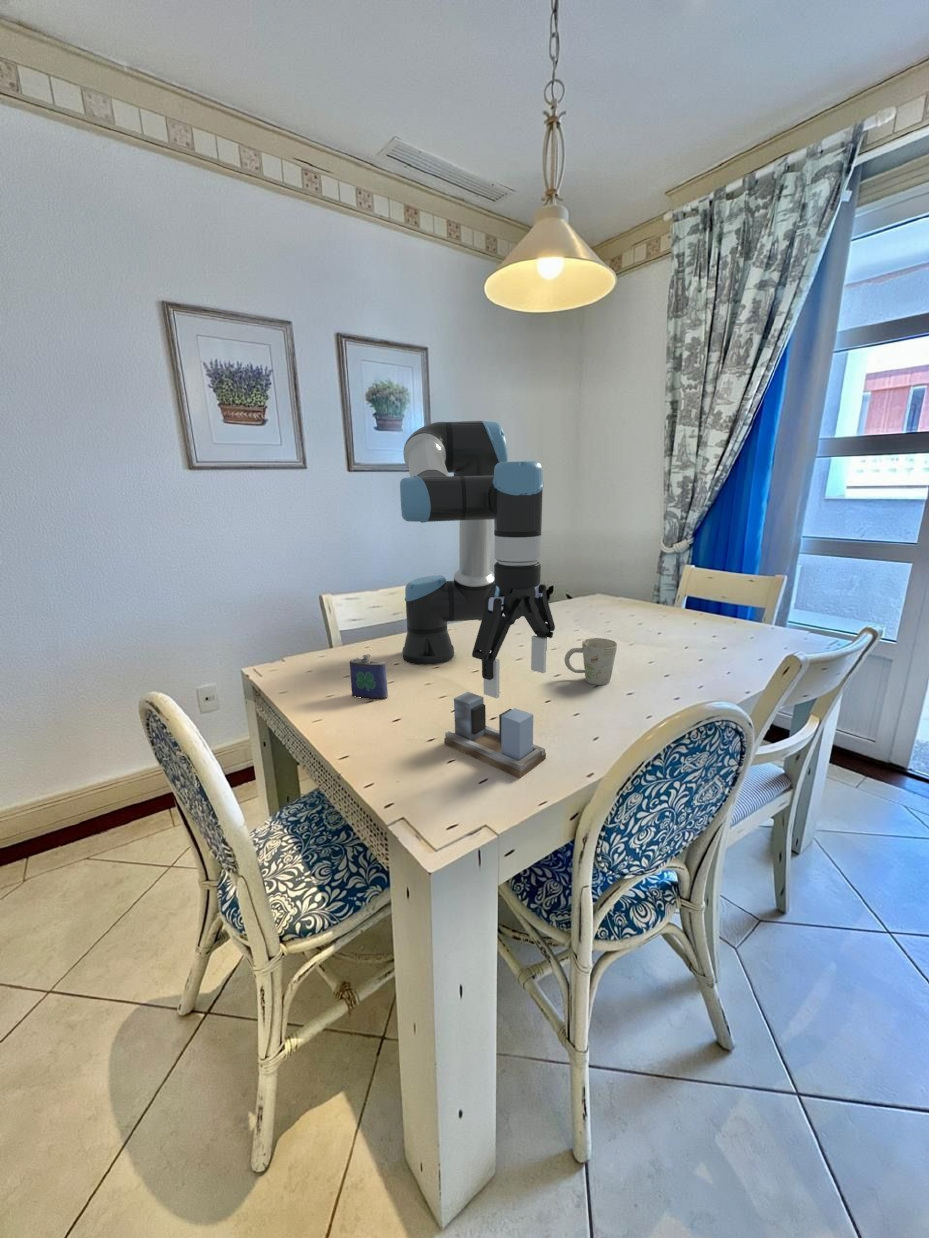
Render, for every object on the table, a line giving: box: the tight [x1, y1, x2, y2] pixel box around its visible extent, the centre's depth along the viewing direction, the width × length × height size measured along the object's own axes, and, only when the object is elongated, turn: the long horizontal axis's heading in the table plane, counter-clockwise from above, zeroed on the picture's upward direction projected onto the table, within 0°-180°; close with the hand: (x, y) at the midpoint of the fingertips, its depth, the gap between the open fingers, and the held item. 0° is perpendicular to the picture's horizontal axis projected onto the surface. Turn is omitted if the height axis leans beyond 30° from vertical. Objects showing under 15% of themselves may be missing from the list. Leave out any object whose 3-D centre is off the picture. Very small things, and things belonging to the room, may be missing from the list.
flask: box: [349, 653, 389, 700], centre depth 117 cm, size 9×3×11 cm, turn 74°
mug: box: [564, 637, 618, 686], centre depth 123 cm, size 8×13×10 cm, turn 78°
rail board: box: [443, 691, 547, 779], centre depth 91 cm, size 18×8×9 cm, turn 48°
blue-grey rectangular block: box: [498, 707, 534, 761], centre depth 88 cm, size 4×5×8 cm
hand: (516, 682), depth 85 cm, fingers open, 13 cm apart
